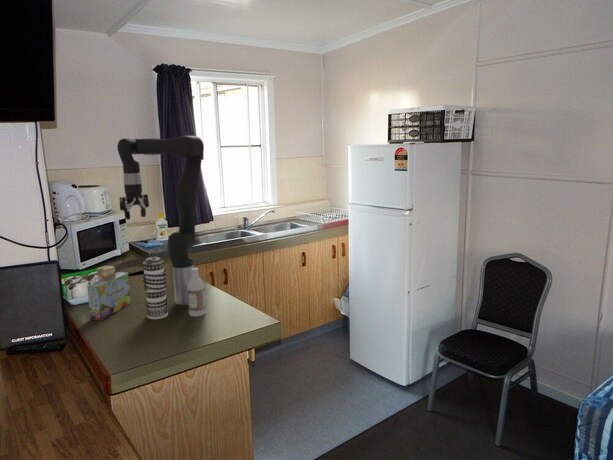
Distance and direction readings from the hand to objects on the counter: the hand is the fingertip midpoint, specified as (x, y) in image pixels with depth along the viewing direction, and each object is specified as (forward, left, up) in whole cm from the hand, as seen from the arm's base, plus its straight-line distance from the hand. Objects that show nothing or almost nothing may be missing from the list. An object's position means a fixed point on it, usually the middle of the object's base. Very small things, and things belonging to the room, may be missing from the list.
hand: (135, 218), depth 202 cm
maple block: (-4, +21, -23) cm, 31 cm away
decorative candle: (-26, +14, -38) cm, 48 cm away
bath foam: (-40, +5, -38) cm, 56 cm away
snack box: (-4, +20, -38) cm, 43 cm away
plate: (+45, -31, -38) cm, 67 cm away
